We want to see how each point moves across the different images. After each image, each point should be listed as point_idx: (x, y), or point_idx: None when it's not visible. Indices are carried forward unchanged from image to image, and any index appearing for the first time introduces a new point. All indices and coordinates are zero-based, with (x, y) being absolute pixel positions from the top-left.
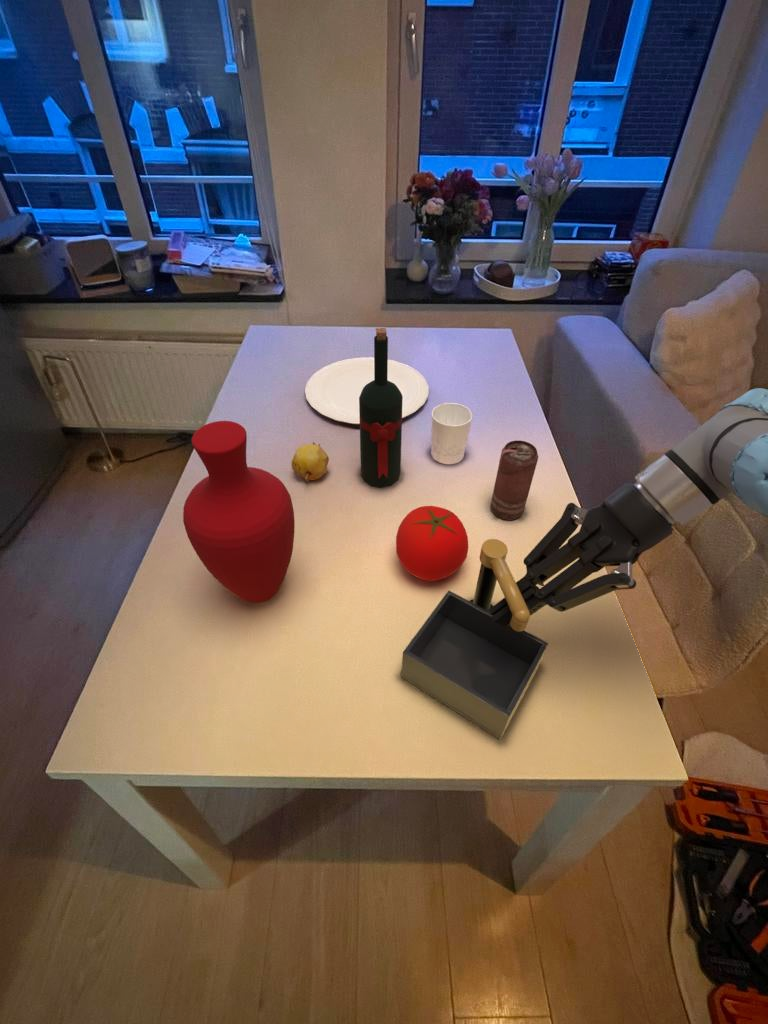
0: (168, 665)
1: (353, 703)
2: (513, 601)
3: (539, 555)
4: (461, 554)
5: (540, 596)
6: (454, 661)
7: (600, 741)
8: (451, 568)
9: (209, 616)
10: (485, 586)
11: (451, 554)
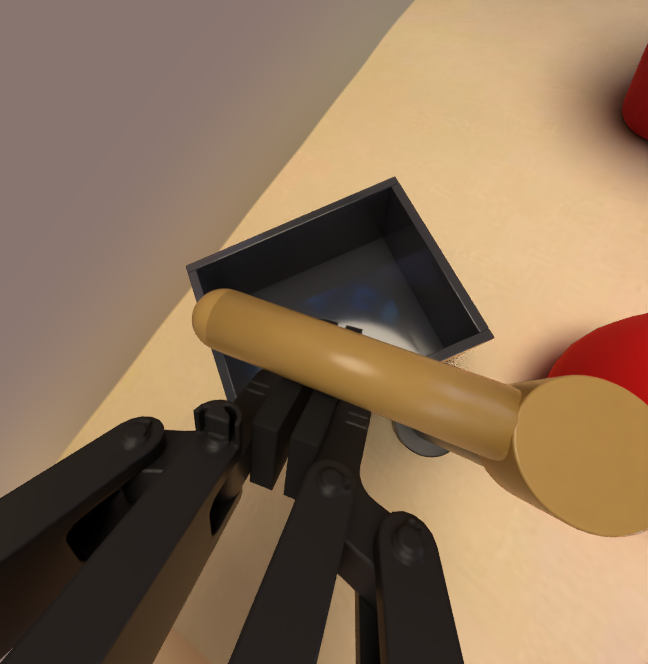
0: (552, 5)
1: (383, 166)
2: (269, 311)
3: (384, 652)
4: None
5: (196, 413)
6: (360, 312)
7: None
8: None
9: (620, 51)
10: None
11: None
